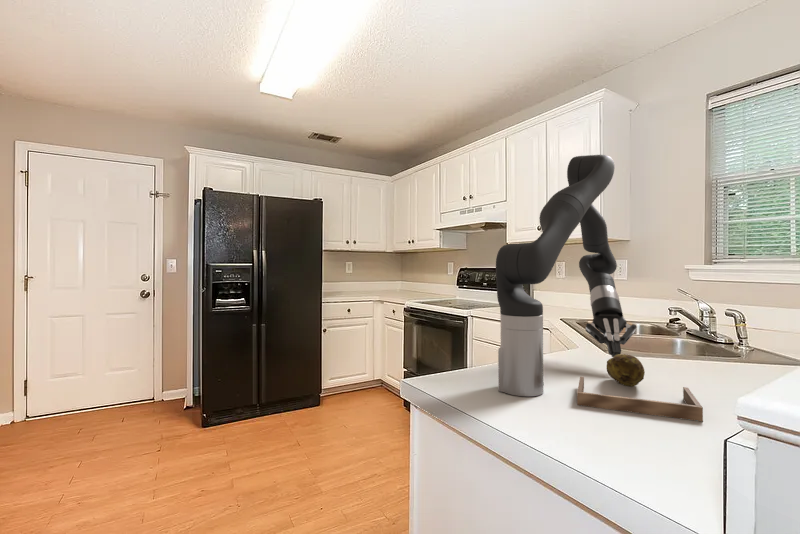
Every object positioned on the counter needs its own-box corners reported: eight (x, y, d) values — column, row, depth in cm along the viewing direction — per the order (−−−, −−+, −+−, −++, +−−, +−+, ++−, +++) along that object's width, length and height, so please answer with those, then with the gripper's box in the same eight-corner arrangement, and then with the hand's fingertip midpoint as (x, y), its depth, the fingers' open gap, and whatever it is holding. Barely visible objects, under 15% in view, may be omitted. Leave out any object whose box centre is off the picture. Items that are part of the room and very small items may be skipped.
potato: (646, 382, 98) (646, 349, 98) (643, 396, 87) (643, 359, 87) (608, 377, 102) (607, 345, 102) (601, 390, 91) (600, 354, 91)
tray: (577, 405, 82) (577, 392, 82) (580, 387, 94) (580, 376, 94) (702, 421, 72) (702, 407, 72) (688, 399, 85) (687, 387, 85)
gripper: (581, 295, 116) (589, 345, 104) (633, 296, 112) (647, 348, 101) (579, 312, 121) (586, 362, 109) (628, 313, 118) (641, 365, 106)
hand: (615, 355), depth 105 cm, fingers closed
